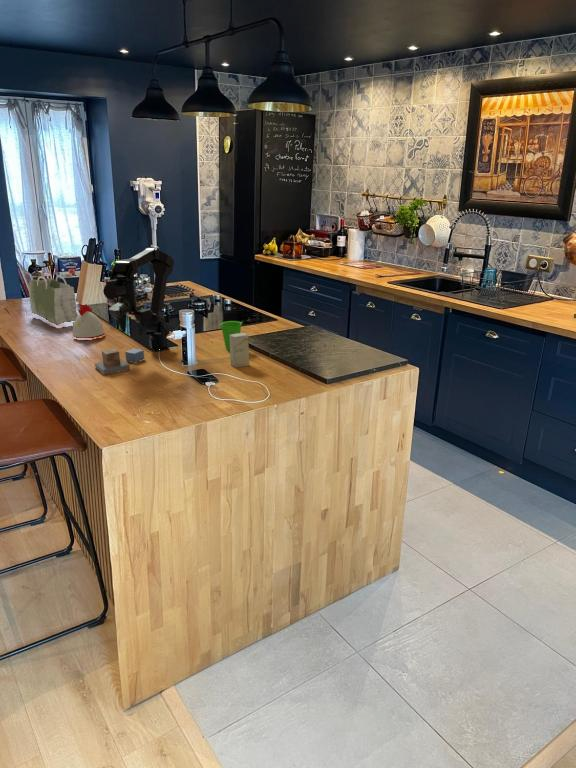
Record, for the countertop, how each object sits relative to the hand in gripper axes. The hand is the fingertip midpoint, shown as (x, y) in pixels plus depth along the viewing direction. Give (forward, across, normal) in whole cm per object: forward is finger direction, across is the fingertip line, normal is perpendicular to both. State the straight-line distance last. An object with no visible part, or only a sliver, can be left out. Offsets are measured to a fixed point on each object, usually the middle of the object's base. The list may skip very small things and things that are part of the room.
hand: (132, 333), depth 228 cm
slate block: (+11, 0, 0) cm, 11 cm away
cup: (+11, +26, +30) cm, 41 cm away
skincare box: (+11, +40, +15) cm, 45 cm away
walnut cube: (+9, 0, -12) cm, 15 cm away
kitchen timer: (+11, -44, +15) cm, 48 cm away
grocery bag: (+12, -83, +28) cm, 88 cm away
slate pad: (+11, 0, -12) cm, 16 cm away
